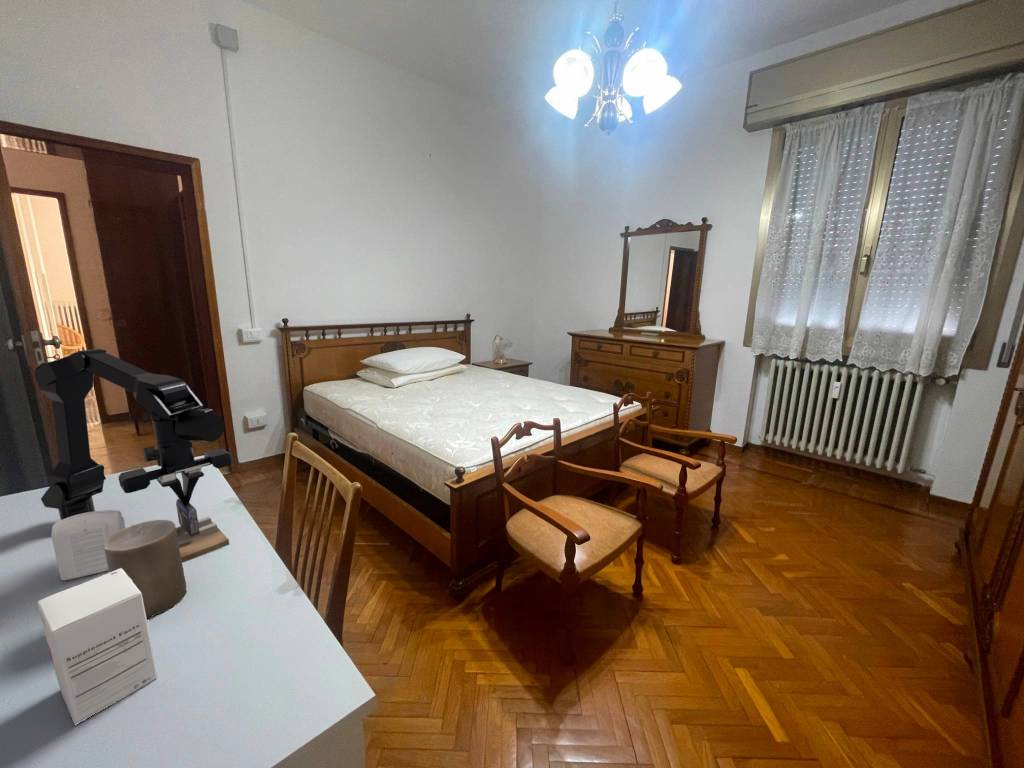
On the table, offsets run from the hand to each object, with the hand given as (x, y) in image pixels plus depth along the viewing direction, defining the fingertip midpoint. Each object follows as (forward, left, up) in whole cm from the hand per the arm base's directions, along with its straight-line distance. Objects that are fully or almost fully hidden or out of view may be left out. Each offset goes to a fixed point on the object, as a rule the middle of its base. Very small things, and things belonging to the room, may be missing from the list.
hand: (185, 504), depth 92 cm
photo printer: (-2, -15, -9) cm, 18 cm away
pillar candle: (+17, -10, -9) cm, 22 cm away
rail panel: (+1, -1, -9) cm, 9 cm away
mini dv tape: (0, 0, -6) cm, 6 cm away
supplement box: (+33, -18, -9) cm, 39 cm away
